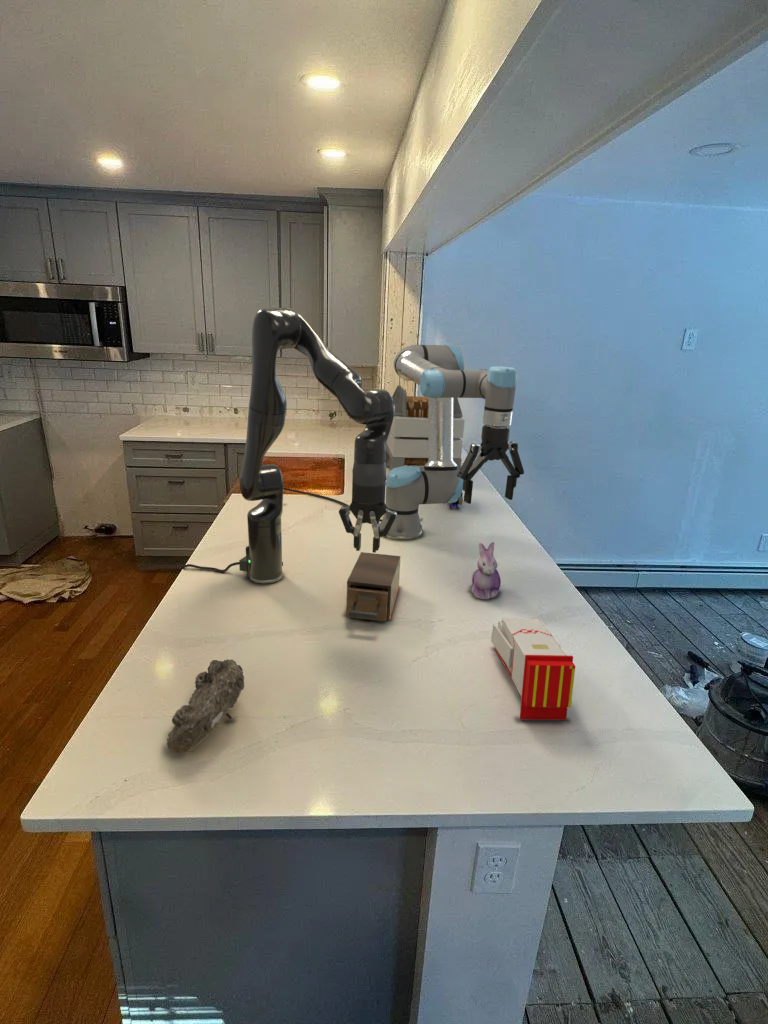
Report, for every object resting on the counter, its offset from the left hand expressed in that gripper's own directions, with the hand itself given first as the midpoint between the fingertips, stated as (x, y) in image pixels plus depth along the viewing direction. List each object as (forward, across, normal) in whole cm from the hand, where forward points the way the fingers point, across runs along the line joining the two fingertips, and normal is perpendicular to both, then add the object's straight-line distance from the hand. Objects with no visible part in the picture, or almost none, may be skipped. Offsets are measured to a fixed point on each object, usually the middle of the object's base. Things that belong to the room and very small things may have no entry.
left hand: (366, 550), depth 133 cm
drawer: (+20, 0, +9) cm, 22 cm away
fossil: (+21, -22, -38) cm, 48 cm away
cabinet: (+21, 0, +15) cm, 26 cm away
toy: (+21, +38, -12) cm, 45 cm away
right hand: (-4, +28, +34) cm, 45 cm away
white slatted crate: (+21, 0, +145) cm, 146 cm away
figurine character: (+21, +18, +101) cm, 105 cm away
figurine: (+21, +30, +26) cm, 45 cm away
